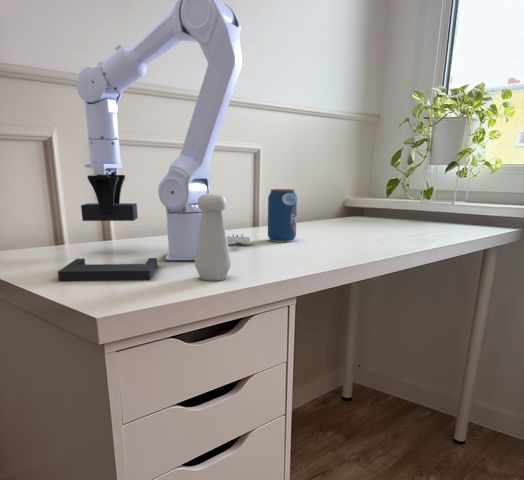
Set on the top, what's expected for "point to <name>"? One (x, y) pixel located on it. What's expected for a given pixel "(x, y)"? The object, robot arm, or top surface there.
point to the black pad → (107, 271)
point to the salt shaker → (212, 239)
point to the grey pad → (119, 214)
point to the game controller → (237, 239)
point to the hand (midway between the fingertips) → (110, 212)
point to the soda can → (282, 215)
